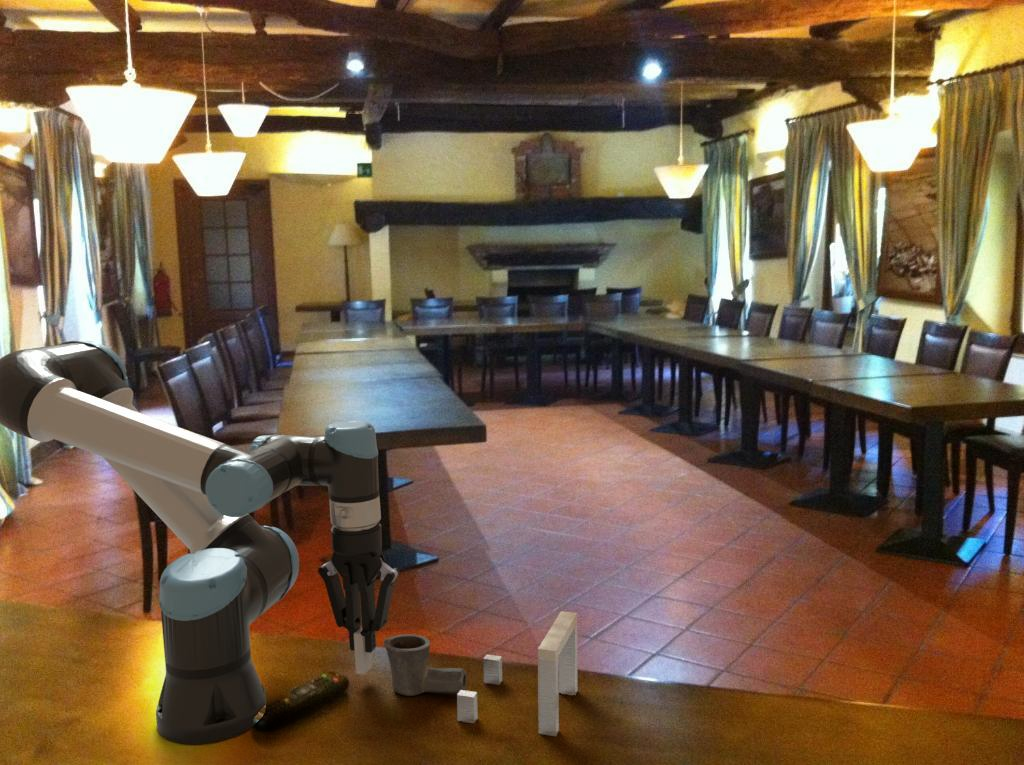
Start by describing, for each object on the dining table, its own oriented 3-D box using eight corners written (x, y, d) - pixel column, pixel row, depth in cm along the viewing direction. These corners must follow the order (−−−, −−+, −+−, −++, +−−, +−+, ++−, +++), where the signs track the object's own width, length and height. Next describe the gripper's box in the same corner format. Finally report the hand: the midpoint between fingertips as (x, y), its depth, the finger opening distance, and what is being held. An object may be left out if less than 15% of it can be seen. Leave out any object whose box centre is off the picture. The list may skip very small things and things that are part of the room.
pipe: (460, 706, 130) (459, 655, 129) (378, 698, 133) (376, 648, 131) (470, 685, 136) (469, 637, 135) (391, 678, 138) (390, 630, 137)
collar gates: (457, 721, 126) (455, 638, 124) (487, 678, 138) (485, 602, 136) (556, 736, 121) (555, 651, 119) (577, 690, 134) (577, 612, 132)
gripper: (305, 528, 132) (314, 676, 135) (384, 534, 128) (392, 686, 131) (329, 513, 139) (338, 654, 142) (405, 519, 135) (412, 663, 138)
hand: (364, 669), depth 137 cm, fingers closed
